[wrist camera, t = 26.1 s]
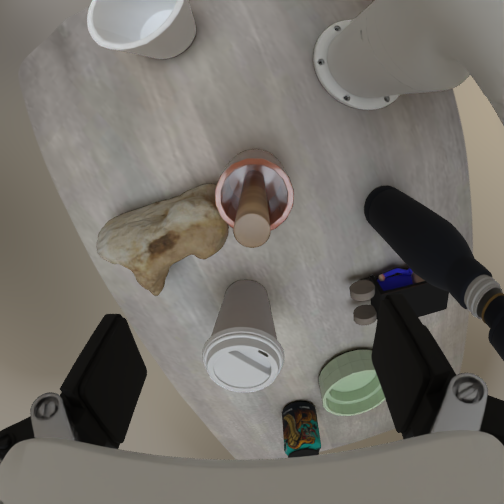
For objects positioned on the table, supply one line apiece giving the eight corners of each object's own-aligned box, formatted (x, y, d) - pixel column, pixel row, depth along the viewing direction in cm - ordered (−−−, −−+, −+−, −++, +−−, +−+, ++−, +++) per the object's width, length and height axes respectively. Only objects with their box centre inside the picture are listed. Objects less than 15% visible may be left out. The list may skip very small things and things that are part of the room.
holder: (239, 139, 36) (232, 146, 27) (294, 163, 38) (306, 178, 28) (216, 193, 39) (203, 217, 30) (269, 215, 40) (273, 245, 31)
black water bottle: (401, 181, 38) (569, 295, 11) (406, 223, 40) (543, 363, 13) (360, 190, 39) (510, 331, 11) (367, 233, 41) (485, 398, 14)
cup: (216, 50, 31) (198, 20, 20) (145, 80, 33) (100, 68, 21) (192, -8, 28) (167, -51, 16) (125, 23, 29) (78, -4, 18)
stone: (188, 144, 37) (166, 153, 28) (246, 211, 40) (243, 240, 31) (108, 223, 41) (75, 252, 32) (161, 279, 45) (141, 318, 36)
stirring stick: (248, 167, 37) (241, 207, 21) (267, 175, 37) (276, 222, 21) (240, 185, 38) (227, 239, 22) (259, 193, 38) (261, 253, 22)
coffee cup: (288, 308, 47) (299, 381, 33) (235, 331, 49) (228, 404, 35) (259, 259, 43) (260, 326, 30) (202, 287, 45) (182, 356, 32)
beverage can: (299, 395, 56) (305, 444, 45) (321, 406, 57) (329, 453, 46) (274, 410, 58) (277, 458, 47) (297, 421, 60) (301, 466, 49)
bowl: (343, 339, 49) (351, 363, 44) (396, 355, 51) (407, 376, 46) (305, 386, 54) (308, 410, 49) (358, 397, 56) (364, 419, 51)
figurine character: (349, 304, 48) (432, 286, 45) (356, 334, 41) (449, 313, 38) (344, 269, 45) (433, 251, 42) (352, 298, 39) (453, 275, 35)
